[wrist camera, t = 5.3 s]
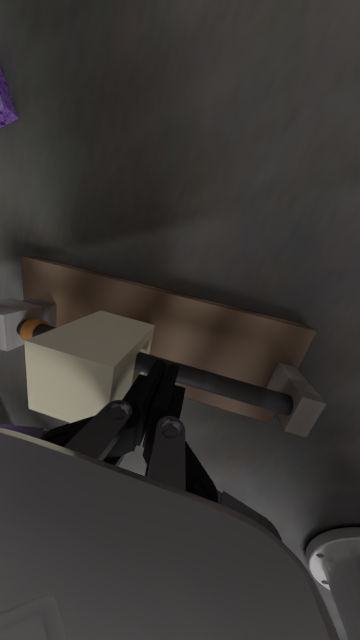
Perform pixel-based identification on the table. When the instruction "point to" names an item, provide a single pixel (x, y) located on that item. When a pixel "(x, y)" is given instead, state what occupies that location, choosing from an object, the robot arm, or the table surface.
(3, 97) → the sponges
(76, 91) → the table surface
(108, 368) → the cream foam block
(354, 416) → the table surface
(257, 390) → the wooden linear slide
